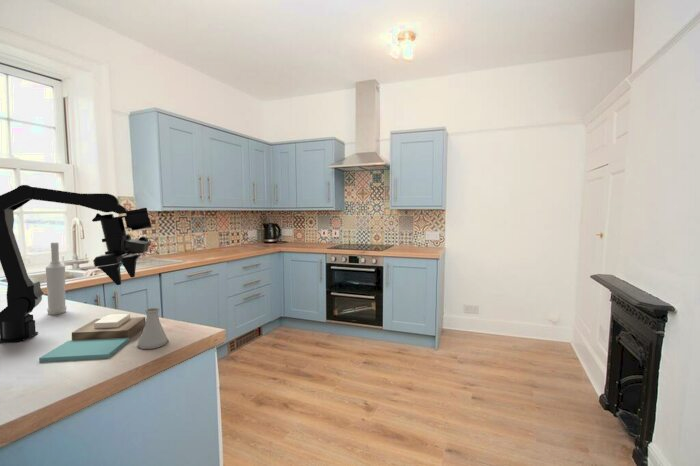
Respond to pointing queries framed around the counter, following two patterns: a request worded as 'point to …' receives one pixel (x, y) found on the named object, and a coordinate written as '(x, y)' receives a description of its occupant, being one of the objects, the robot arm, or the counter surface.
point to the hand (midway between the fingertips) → (126, 280)
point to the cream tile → (112, 320)
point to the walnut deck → (110, 330)
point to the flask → (152, 331)
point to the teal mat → (85, 349)
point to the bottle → (55, 283)
